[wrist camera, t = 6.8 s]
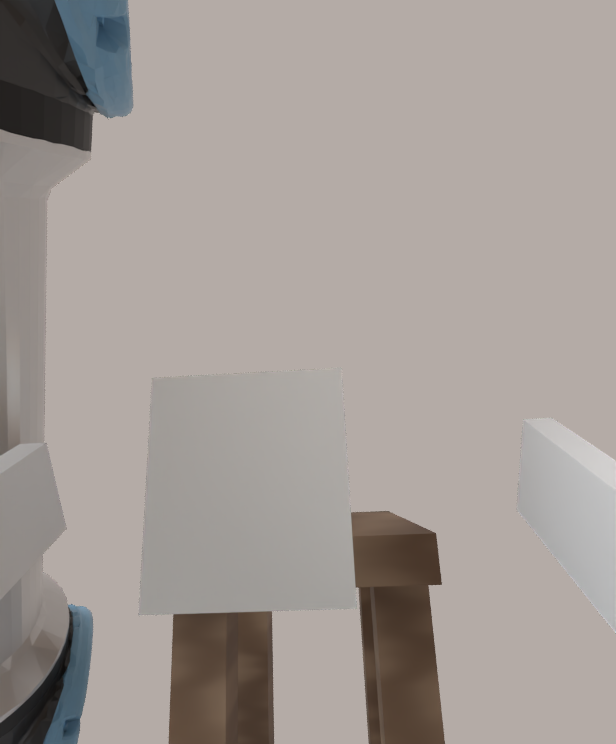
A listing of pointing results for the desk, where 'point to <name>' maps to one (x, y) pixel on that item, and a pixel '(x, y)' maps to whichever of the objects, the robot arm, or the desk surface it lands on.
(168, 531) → the light grey bar
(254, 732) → the walnut stand
